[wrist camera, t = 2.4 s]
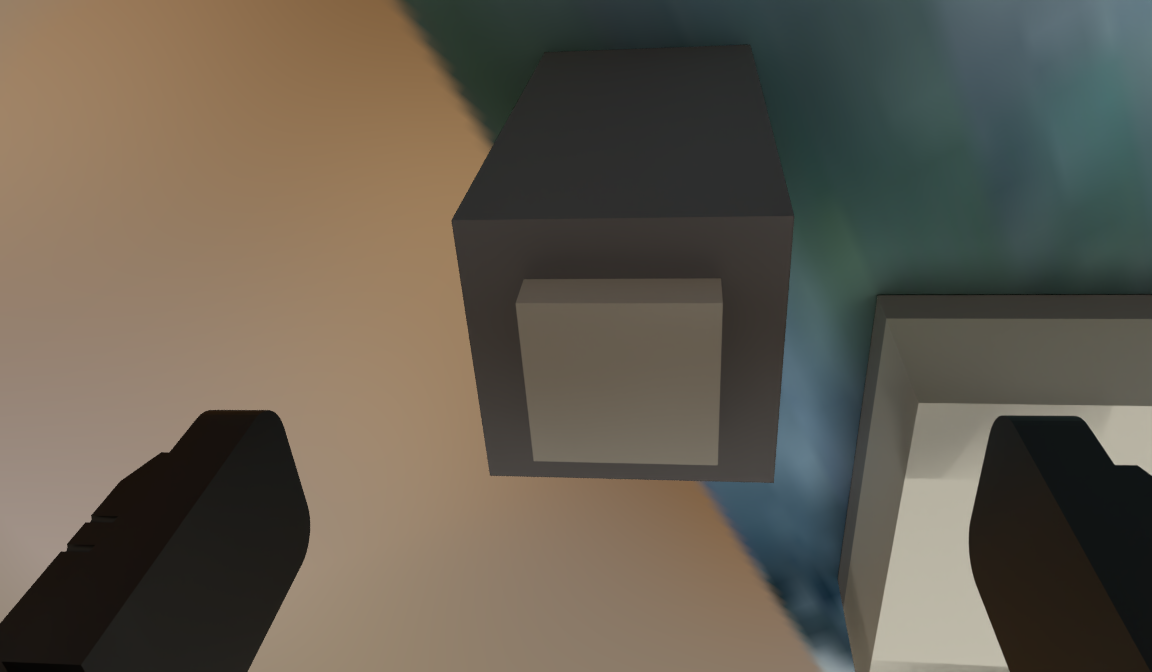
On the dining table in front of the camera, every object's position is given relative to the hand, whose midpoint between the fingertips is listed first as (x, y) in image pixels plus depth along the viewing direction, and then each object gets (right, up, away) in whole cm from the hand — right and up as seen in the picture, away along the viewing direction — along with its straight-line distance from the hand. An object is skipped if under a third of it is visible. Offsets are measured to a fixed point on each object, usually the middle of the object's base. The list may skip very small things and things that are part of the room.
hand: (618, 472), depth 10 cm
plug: (+1, +6, +8) cm, 10 cm away
